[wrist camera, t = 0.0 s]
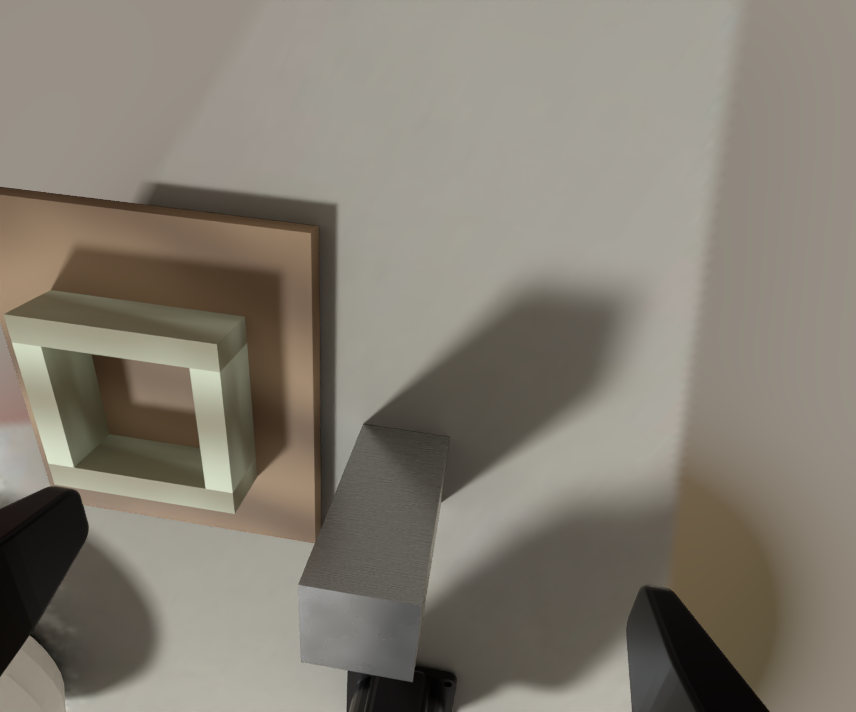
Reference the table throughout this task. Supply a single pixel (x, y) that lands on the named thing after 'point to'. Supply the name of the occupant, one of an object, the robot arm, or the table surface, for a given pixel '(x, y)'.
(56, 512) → the robot arm
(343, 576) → the grey tall block
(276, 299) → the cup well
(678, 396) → the table surface
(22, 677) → the bowl
